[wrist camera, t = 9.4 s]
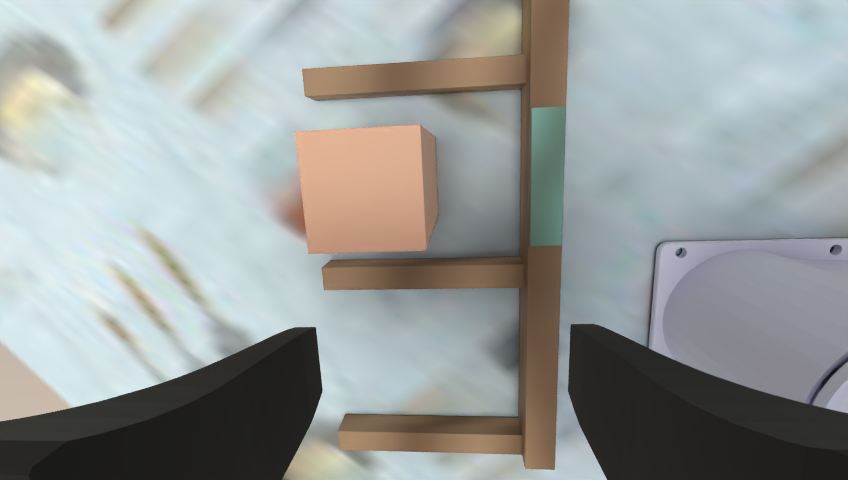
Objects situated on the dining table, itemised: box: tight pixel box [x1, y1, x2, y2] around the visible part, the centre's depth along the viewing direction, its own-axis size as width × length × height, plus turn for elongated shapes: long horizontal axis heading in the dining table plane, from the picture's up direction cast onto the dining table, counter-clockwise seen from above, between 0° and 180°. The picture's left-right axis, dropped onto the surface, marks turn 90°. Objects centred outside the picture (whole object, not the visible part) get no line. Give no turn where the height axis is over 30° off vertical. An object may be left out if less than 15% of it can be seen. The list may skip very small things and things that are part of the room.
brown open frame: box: [302, 0, 569, 470], centre depth 19 cm, size 12×30×3 cm, turn 2°
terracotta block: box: [295, 125, 438, 254], centre depth 17 cm, size 4×4×8 cm
